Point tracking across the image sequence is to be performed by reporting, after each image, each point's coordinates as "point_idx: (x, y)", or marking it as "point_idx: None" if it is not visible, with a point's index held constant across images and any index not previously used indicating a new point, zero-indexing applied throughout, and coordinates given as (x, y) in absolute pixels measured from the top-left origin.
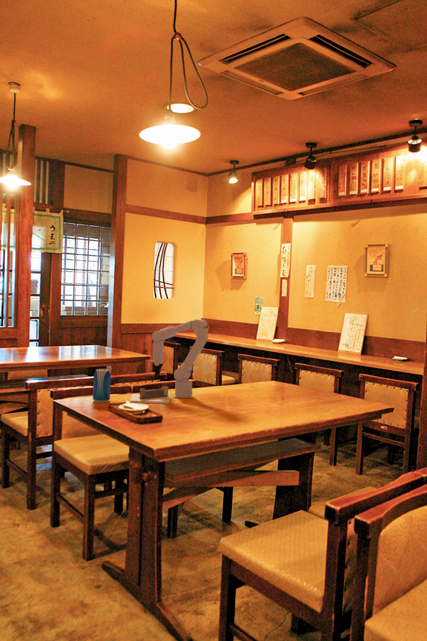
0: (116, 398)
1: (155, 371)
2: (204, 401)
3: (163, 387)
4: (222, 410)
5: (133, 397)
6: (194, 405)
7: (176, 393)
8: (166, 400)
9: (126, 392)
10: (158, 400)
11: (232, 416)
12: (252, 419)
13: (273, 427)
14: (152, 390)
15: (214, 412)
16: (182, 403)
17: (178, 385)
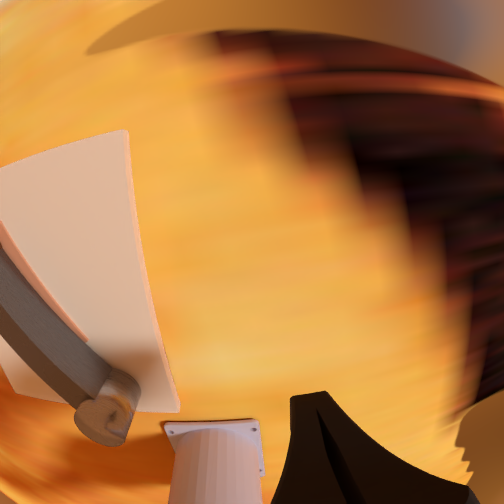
0: (25, 66)
1: (298, 465)
2: (148, 495)
3: (75, 418)
4: (57, 493)
5: (6, 181)
6: (60, 460)
7: (183, 446)
8: (29, 385)
9: (266, 44)
10: (7, 347)
11: (22, 486)
12: (30, 500)
13: (11, 498)
14: (3, 336)
15: (24, 472)
16: (60, 435)
17: (170, 494)
